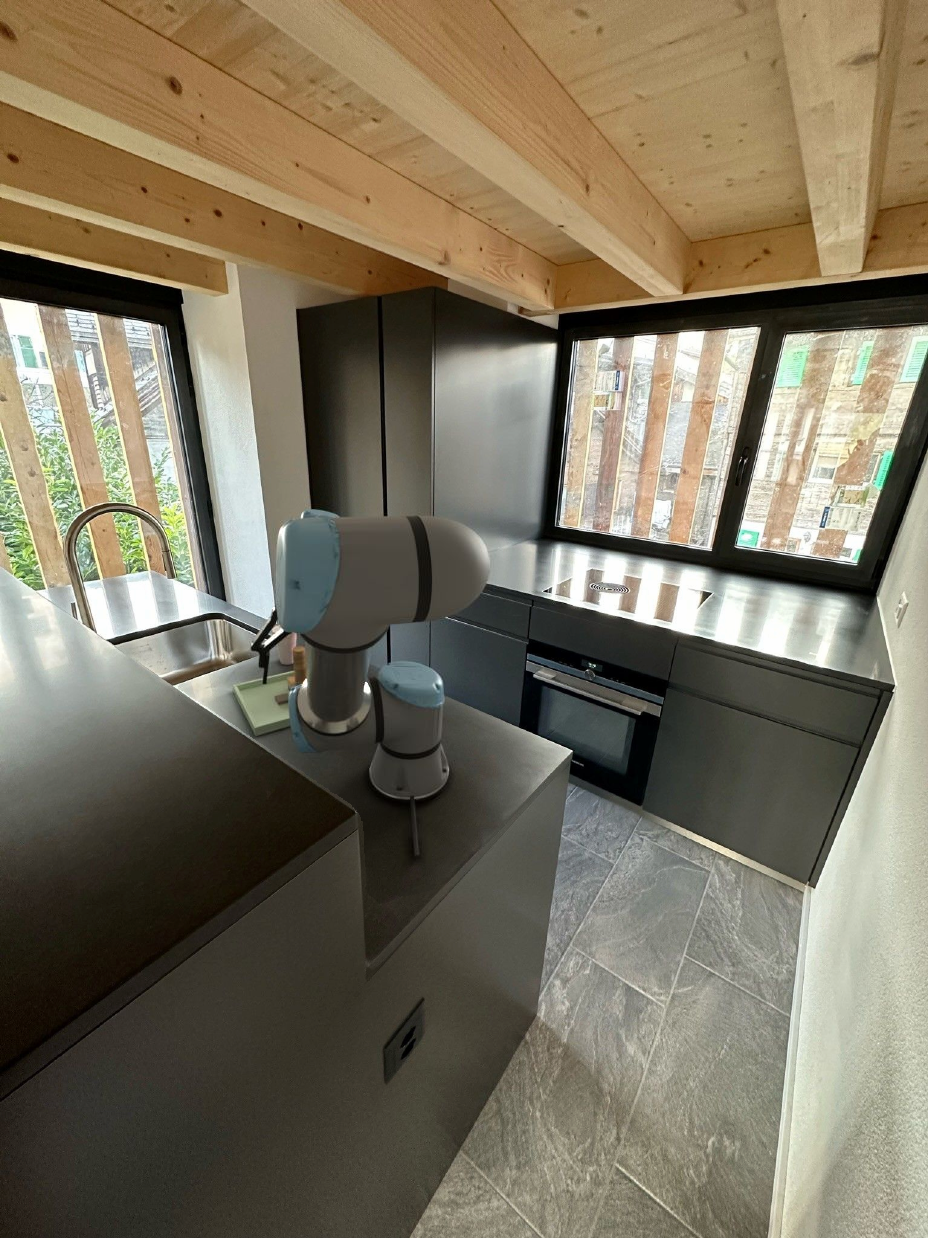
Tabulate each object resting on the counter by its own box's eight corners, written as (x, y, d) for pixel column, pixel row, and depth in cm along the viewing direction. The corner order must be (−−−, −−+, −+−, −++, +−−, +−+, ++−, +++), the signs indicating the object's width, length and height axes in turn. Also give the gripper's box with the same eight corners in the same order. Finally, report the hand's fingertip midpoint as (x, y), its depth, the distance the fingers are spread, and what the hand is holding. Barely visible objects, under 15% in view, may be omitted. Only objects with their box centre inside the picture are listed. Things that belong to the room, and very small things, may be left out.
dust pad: (291, 701, 120) (291, 698, 120) (278, 705, 118) (278, 702, 118) (287, 695, 122) (287, 692, 122) (274, 698, 120) (274, 696, 120)
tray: (331, 713, 117) (330, 706, 117) (255, 736, 108) (254, 728, 108) (302, 675, 132) (301, 668, 131) (233, 692, 123) (232, 685, 122)
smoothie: (284, 669, 134) (280, 620, 128) (270, 661, 138) (265, 613, 132) (305, 661, 139) (301, 613, 133) (290, 653, 142) (286, 606, 137)
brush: (317, 702, 120) (314, 654, 115) (300, 706, 118) (296, 658, 113) (304, 684, 127) (300, 639, 122) (287, 688, 125) (283, 642, 120)
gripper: (370, 589, 110) (354, 676, 117) (244, 575, 101) (235, 671, 108) (376, 601, 104) (359, 693, 111) (243, 587, 94) (233, 689, 101)
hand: (298, 682), depth 109 cm, fingers open, 13 cm apart
